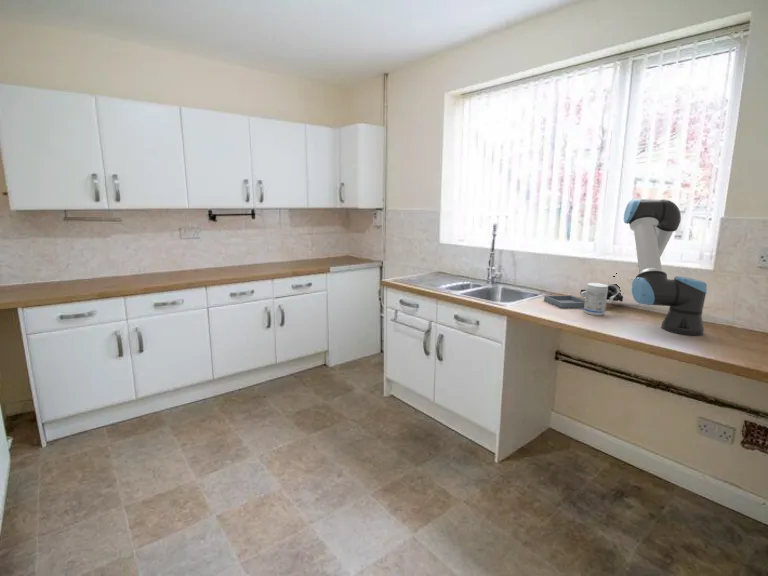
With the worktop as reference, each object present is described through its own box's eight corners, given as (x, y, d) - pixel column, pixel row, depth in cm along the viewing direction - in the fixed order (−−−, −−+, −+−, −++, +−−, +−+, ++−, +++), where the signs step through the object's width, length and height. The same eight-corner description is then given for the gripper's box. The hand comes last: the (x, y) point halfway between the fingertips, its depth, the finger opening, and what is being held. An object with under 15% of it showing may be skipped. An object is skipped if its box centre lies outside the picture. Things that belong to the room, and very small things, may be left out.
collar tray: (589, 307, 217) (590, 302, 216) (561, 308, 214) (561, 302, 213) (570, 300, 233) (571, 295, 232) (543, 300, 230) (544, 295, 229)
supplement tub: (588, 309, 213) (592, 282, 210) (607, 314, 206) (612, 285, 203) (579, 312, 207) (583, 284, 204) (599, 317, 200) (603, 287, 197)
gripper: (634, 303, 212) (622, 309, 198) (584, 294, 230) (569, 300, 215) (637, 288, 211) (624, 294, 196) (586, 281, 228) (571, 286, 213)
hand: (595, 297), depth 205 cm, fingers open, 13 cm apart
